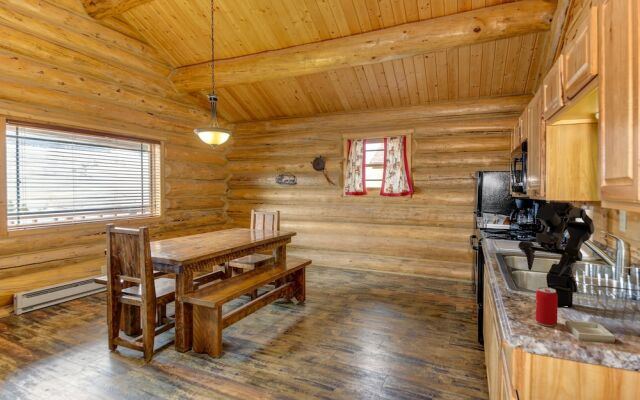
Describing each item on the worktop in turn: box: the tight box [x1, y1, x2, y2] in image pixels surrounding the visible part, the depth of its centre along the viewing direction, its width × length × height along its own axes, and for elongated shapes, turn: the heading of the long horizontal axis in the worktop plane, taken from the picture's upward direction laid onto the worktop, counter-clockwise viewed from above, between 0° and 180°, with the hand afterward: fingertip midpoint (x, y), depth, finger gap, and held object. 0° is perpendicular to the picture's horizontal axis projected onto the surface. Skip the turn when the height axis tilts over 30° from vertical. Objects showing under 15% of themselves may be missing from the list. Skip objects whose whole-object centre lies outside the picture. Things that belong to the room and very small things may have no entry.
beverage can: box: [535, 286, 559, 327], centre depth 119 cm, size 6×6×12 cm
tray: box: [564, 320, 616, 344], centre depth 111 cm, size 10×10×2 cm
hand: (543, 272), depth 122 cm, fingers open, 9 cm apart
